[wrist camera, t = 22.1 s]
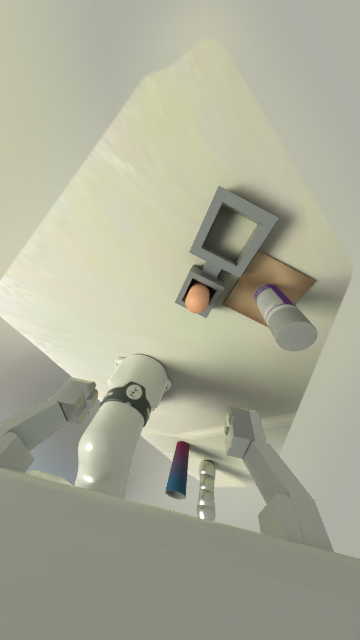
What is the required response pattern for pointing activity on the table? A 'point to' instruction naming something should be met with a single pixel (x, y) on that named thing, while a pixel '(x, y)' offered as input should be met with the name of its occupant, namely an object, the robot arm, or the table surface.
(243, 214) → the housing
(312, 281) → the pad
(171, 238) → the table surface
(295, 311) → the container
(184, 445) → the cup
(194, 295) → the peach cylinder
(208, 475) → the plastic bottle
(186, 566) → the robot arm
